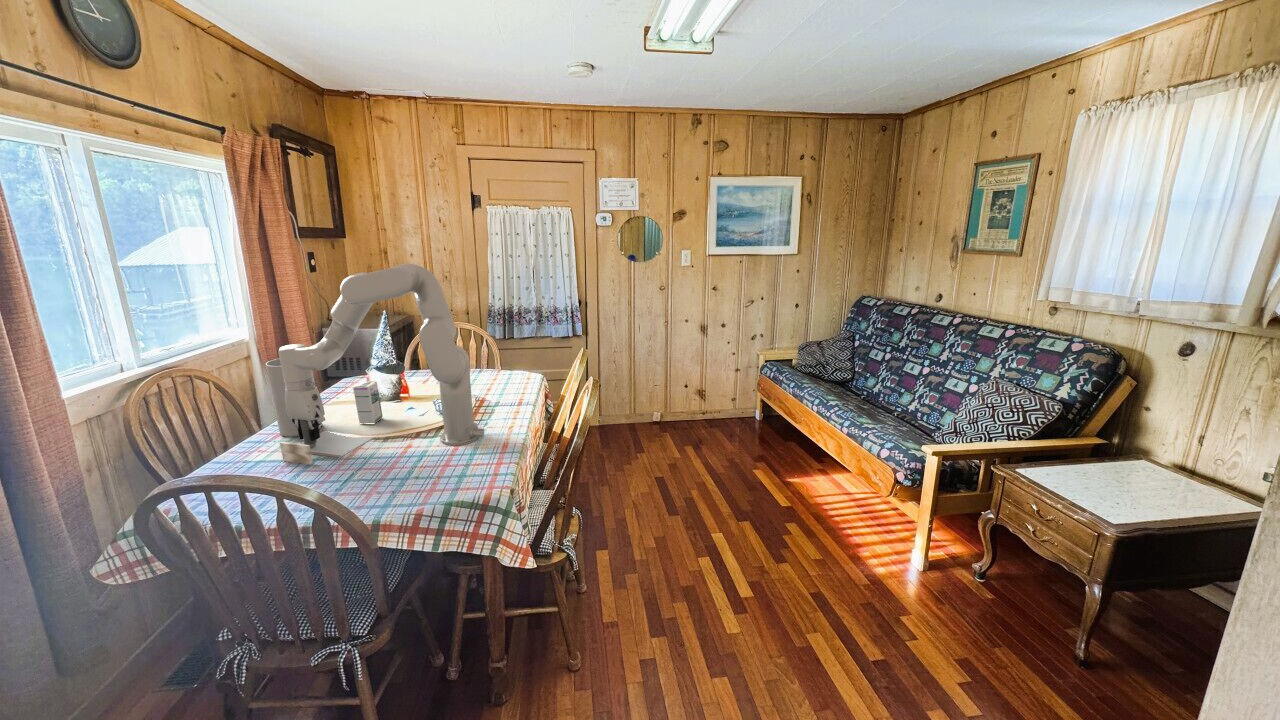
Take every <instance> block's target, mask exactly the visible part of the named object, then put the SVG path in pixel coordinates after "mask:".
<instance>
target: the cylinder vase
mask: <svg viewBox="0 0 1280 720" xmlns="http://www.w3.org/2000/svg"><path fill="white" fill-rule="evenodd" d="M265 368H266V372H267V377H268V382H269V383H268V384H269V387H270V391H271V397H272V402H273V406H274V407H273V408H274V411H275V412H274V413H275V416H276V417H275V418H276V420H277V426H278V430H279V431H278V432H279V433H280V435H281V436H284V437H289V438H293V437H295V438H296V437H299V434H298V428H296V427H295V424H294V423H293V422H292V421H291V420H290V419H288V418H287V415H288V414H287V409H286V403H285V389H286V388H285V383H284V378H283V373H282V368H281V363H280V358H279V357H278V358H275V359H272V360H269V361H266V362H265ZM312 375H313V380H314V382H315V383H316V381H315V376H314V370H312ZM315 387H317V386H316V385H315ZM313 423H314V421H313ZM321 426H322V427H323V422H322V423H321V424H320V426H319V430H320V429H321V428H322V427H321Z"/></svg>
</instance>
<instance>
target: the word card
mask: <svg viewBox="0 0 1280 720" xmlns="http://www.w3.org/2000/svg"><path fill="white" fill-rule="evenodd" d="M279 445H280V450H281V455H282V461H283V462H288V461H289V463H297V464H303V465H304V464H305V465H312V464H314V463H313V462H314V460H313V457H312V456H313V455H312V454H311V449H310V445H305V444H300V443H295V442H289V441H287V442H286V441H281V442H279Z"/></svg>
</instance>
